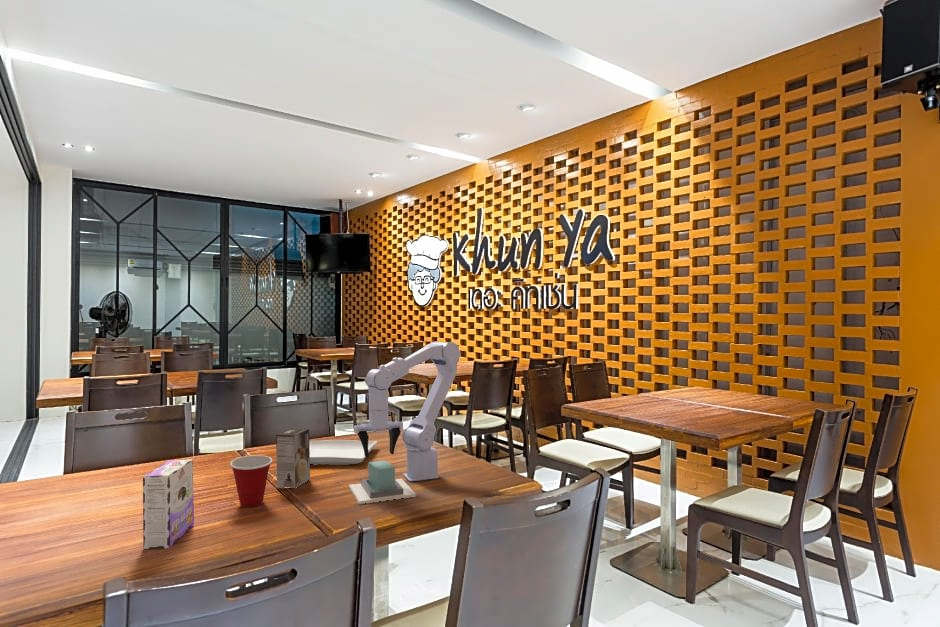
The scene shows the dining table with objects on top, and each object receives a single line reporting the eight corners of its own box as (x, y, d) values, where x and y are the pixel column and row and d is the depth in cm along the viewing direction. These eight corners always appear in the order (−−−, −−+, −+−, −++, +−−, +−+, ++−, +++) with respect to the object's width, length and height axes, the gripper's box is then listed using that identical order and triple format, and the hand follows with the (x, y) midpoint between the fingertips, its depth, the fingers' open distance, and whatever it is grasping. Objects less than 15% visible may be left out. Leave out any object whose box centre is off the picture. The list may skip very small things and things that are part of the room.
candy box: (169, 526, 138) (169, 459, 138) (194, 525, 139) (194, 458, 139) (142, 550, 124) (141, 475, 124) (169, 548, 125) (169, 474, 125)
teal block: (394, 492, 160) (394, 467, 160) (377, 494, 158) (377, 469, 158) (384, 483, 169) (384, 460, 169) (368, 486, 166) (368, 462, 166)
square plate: (364, 468, 190) (364, 457, 190) (283, 468, 190) (283, 457, 190) (378, 449, 217) (378, 438, 217) (307, 449, 217) (307, 439, 217)
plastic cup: (232, 513, 147) (231, 467, 147) (228, 501, 156) (228, 457, 156) (275, 506, 152) (275, 461, 152) (269, 495, 161) (269, 453, 161)
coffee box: (291, 479, 177) (291, 428, 176) (310, 480, 175) (310, 428, 175) (275, 488, 168) (275, 434, 168) (295, 489, 166) (295, 435, 166)
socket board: (401, 481, 174) (401, 473, 174) (416, 496, 159) (416, 488, 159) (349, 487, 168) (349, 479, 168) (359, 504, 153) (359, 495, 153)
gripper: (398, 405, 175) (399, 449, 175) (351, 409, 170) (352, 454, 170) (404, 409, 169) (405, 454, 169) (356, 413, 163) (357, 459, 163)
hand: (379, 454), depth 169 cm, fingers open, 7 cm apart
